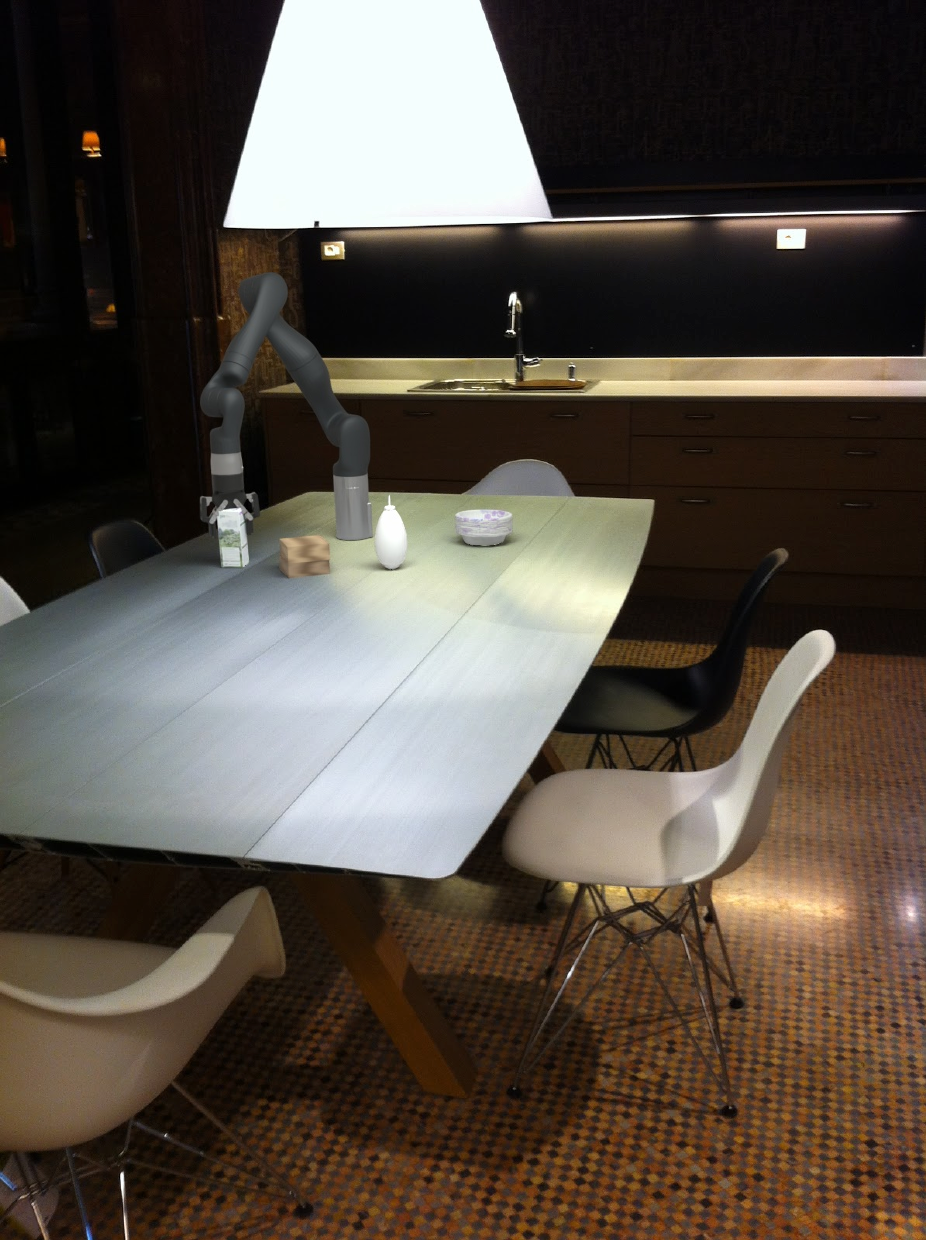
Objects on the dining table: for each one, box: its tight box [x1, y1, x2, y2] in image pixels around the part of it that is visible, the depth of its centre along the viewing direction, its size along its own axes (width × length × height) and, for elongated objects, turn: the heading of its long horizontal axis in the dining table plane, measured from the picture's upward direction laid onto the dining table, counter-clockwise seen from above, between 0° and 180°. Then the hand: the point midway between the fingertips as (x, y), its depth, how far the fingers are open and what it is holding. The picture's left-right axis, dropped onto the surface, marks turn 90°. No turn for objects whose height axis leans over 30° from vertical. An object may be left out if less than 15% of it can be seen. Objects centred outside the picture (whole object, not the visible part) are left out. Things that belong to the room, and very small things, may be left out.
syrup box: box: [216, 508, 250, 569], centre depth 286 cm, size 6×6×14 cm
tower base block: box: [278, 554, 331, 579], centre depth 280 cm, size 10×10×4 cm
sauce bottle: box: [374, 495, 408, 570], centre depth 279 cm, size 8×8×18 cm
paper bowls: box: [454, 509, 514, 546], centre depth 306 cm, size 15×15×8 cm
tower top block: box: [279, 534, 331, 564], centre depth 279 cm, size 10×10×4 cm
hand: (231, 536), depth 286 cm, fingers open, 8 cm apart
